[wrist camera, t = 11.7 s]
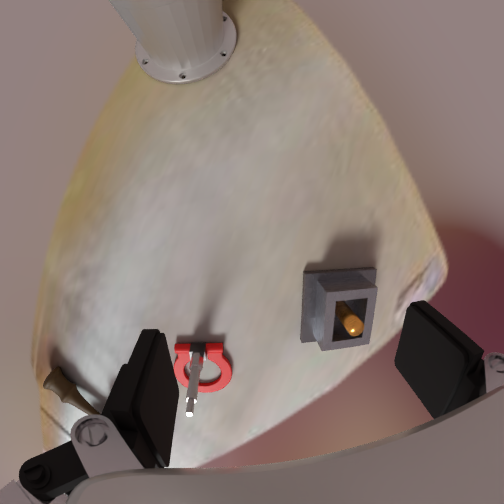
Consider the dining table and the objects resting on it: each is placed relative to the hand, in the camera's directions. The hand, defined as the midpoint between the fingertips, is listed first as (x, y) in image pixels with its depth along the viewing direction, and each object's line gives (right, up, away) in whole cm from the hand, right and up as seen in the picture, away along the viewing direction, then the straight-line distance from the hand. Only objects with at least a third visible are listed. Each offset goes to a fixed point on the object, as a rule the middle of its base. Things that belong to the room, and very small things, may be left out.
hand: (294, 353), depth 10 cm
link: (+10, -4, +27) cm, 29 cm away
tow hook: (-9, -13, +29) cm, 33 cm away
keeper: (+10, -3, +28) cm, 30 cm away
